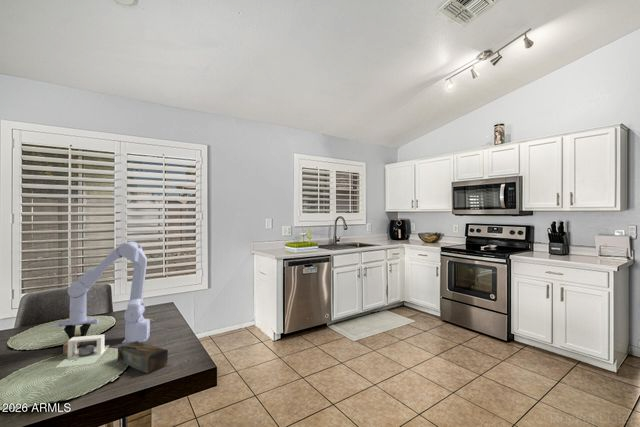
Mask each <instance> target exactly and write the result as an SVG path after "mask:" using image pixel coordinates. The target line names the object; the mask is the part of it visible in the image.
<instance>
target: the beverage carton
mask: <svg viewBox="0 0 640 427" xmlns="http://www.w3.org/2000/svg"><path fill="white" fill-rule="evenodd" d="M168 356H169V350H168V349H165V348H161V347H159V346H156V345H155V346H154V345H151V344H147V343H144V342H142V341H140V342H138V341H136V342H130V343H123V345H121V346H119V347H118V346H117V362H119V363H122V364H124V365H127V366H130V368H133V369H134V370H138V371H140V372H144V373H147V374H148V375H149V374H151V373H154V372H155V371H158V370H161V369H162V368H165V367H167V366H168V360H169V359H168V358H169V357H168Z"/></svg>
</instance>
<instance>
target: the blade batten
mask: <svg viewBox="0 0 640 427" xmlns="http://www.w3.org/2000/svg"><path fill="white" fill-rule="evenodd" d="M74 337H81V332H80V331H78V332H77V333H75V336H74ZM68 341H69V340H68ZM68 341H66V342H65V343H64V344H63V346H62V347H63V348H62V351H63V352H62V355H68ZM80 345H82V343H81V342H77V348H79V346H80Z"/></svg>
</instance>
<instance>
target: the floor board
mask: <svg viewBox="0 0 640 427" xmlns="http://www.w3.org/2000/svg"><path fill="white" fill-rule="evenodd" d="M110 346H111V345H109V344H108V345H107V344H106V345H104V351H103V352H102V353H101V354H98V355H97V345H96V346H94V353H93V354H92V355H89V356H84V357H80V356H79V348H80V347H77V353H76V354H75V355H74V356H78V358H79V359H78V358H77V359H78V360H77V361H74V360H70V361H69V360H67V359H66V358H67V357H68V356H66V358H64V359H63V360H62V361H61V362H60V363H58V364H57V365H56V367H54V368H63V367H65V368H66V367H74V366H81V365H82V366H83V365H89V364H91V365H92V364H95V363H96V362H97V361H98V360H99V359H100V357H101V356H102V355H103V354H104V353H105V352H106V350H107V349H108V348H109V347H110ZM70 358H71V357H70ZM72 361H73V362H72Z"/></svg>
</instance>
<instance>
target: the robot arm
mask: <svg viewBox="0 0 640 427" xmlns="http://www.w3.org/2000/svg"><path fill="white" fill-rule="evenodd" d="M121 258H125V259H128V260H129V261H130V262H131V263H132V264H133V270H132V279H131V285H130V286H131V288H130V294H129V300H128V304H127V308H126V310H125V312H124V314H123V318H124V321H125V323H124V326H125V328H124V332H125V333H124V334H125V335H124V340H122V342H121V344H130V343H133V342H136V341H138V342H146V341H147V340H148V339H149V337H150V335H151V334H150V332H151V320H150V319H149V318H145V317H144V315H143V314H144V313H145V311H146V306H145V305H144V301H145V300H144V290H145V282H146V274H147V273H146V272H147V266H148V265H147V264H148V258H147V256H146V254H145V252H144V250H143V247H142V246H141V244H139V243H138V242H136V241H134V240H129V241H127V242H123V243H120V244H119V246H117V247H116V248H114V249H113V250H112V251H111V252H109V254H108V255H107V256H106V257H105V258H104V259H103V260H102V261H101V262H100V263H99V264H98V265H97V266H96V267H90V268H88V269H85V271H84V272H85V273H84V274H83V275H82V276H80V277H79V278H76V280H75V281H76V282H74V283H71V284H69V286H68V289H67V294H68V296H69V319H67V320H61V321H58V322H56V324H55V325H56V328H60V327H64V328H63V330H64V332H65V333H66V335H67V337H68V341H69V340H70V339H71V338H72V337H74V336H75V335H76V328H77V327H76V326H80V327H79V332H81V336H87V333H88V331H89V329H90V328H91V326H92V325H98V324H99V322H100V320H99V318H91V317H90V318H88V317H87V306H88V305H87V301H88V300H87V296H88V295H87V294H88V292H89V291H90V288H92V286H94V285H95V283H97V282H98V281H99V280H100V279H101V278H102V277H103V272H104V271H105V270H106V269H108V268H109V267H110V266H111V265H112V264H113V263H114V262H116V261H117V260H118V259H121ZM84 342H85V341H83V342H81V344H83V343H84Z"/></svg>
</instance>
